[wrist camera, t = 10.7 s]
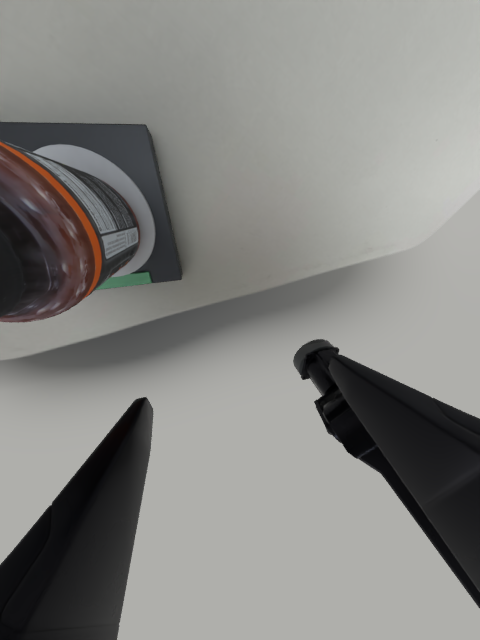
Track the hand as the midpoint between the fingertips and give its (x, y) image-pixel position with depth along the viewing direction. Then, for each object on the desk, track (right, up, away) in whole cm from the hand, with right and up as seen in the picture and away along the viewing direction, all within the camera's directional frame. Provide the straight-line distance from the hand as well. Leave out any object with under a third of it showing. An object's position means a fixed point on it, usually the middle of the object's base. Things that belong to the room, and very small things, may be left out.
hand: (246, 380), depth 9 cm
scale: (-11, +11, +6) cm, 17 cm away
